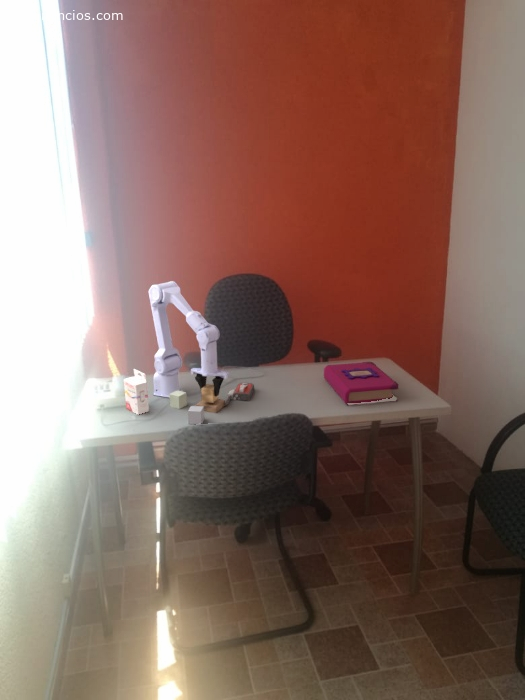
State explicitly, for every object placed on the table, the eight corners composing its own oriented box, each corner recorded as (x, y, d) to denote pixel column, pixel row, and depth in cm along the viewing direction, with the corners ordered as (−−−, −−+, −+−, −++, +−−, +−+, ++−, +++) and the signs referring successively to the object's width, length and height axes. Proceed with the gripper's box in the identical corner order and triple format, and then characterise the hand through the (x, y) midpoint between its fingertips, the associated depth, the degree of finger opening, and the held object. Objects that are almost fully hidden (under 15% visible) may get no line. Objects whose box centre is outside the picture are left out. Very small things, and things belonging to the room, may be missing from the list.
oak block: (202, 401, 203) (201, 388, 201) (207, 396, 207) (207, 384, 205) (212, 402, 201) (212, 390, 200) (218, 398, 205) (217, 385, 204)
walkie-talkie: (234, 388, 224) (222, 408, 205) (233, 378, 223) (222, 397, 204) (255, 389, 223) (246, 409, 204) (255, 379, 221) (245, 398, 203)
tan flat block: (196, 410, 203) (195, 404, 202) (206, 402, 210) (206, 396, 209) (215, 414, 200) (215, 407, 200) (225, 405, 207) (225, 399, 207)
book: (345, 407, 205) (346, 388, 203) (323, 380, 231) (323, 363, 229) (398, 402, 209) (400, 383, 207) (371, 377, 235) (372, 360, 233)
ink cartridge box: (125, 408, 204) (121, 371, 200) (137, 404, 208) (133, 367, 203) (138, 415, 199) (134, 377, 194) (149, 411, 202) (146, 373, 197)
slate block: (188, 424, 191) (187, 411, 190) (191, 418, 196) (191, 405, 194) (201, 424, 191) (200, 411, 189) (204, 419, 195) (203, 406, 194)
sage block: (169, 406, 206) (169, 394, 205) (177, 402, 210) (177, 390, 208) (179, 409, 204) (178, 396, 202) (187, 405, 207) (186, 392, 206)
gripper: (185, 360, 198) (187, 395, 203) (222, 365, 193) (223, 401, 197) (195, 354, 205) (197, 388, 209) (230, 359, 199) (231, 394, 204)
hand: (210, 394), depth 204 cm, fingers open, 5 cm apart
